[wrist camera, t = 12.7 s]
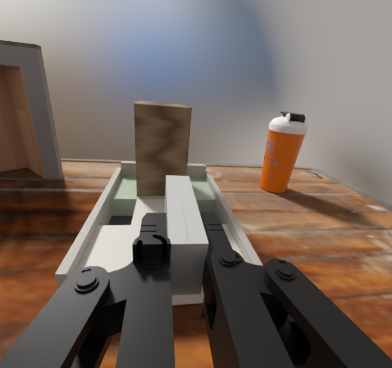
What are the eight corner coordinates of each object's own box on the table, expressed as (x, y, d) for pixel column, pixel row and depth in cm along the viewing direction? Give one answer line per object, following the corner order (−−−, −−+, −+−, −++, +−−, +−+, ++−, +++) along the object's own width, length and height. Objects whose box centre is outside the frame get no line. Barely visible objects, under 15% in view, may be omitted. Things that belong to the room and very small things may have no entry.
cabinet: (-41, 179, 47) (-101, 27, 36) (-10, 165, 55) (-50, 40, 44) (61, 181, 50) (36, 44, 39) (76, 167, 59) (58, 52, 48)
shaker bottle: (277, 181, 63) (295, 112, 55) (296, 194, 55) (320, 116, 48) (250, 181, 61) (265, 109, 53) (266, 195, 53) (286, 113, 45)
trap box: (64, 313, 22) (51, 262, 19) (118, 189, 49) (116, 161, 46) (253, 299, 25) (265, 254, 23) (206, 191, 52) (209, 164, 50)
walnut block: (136, 196, 38) (134, 103, 32) (138, 177, 46) (136, 100, 40) (184, 195, 40) (191, 108, 34) (178, 177, 48) (183, 104, 42)
